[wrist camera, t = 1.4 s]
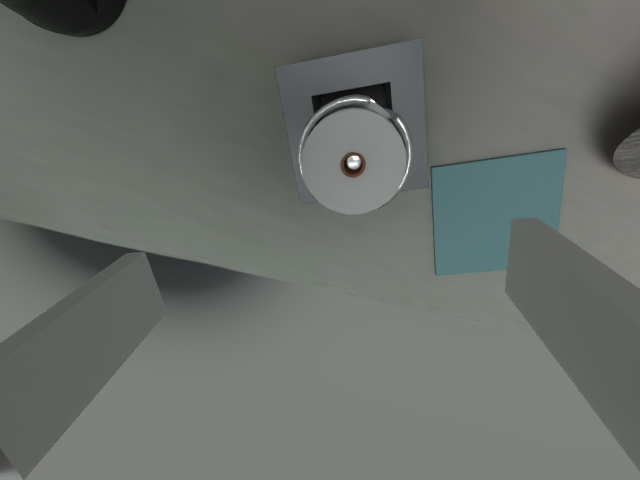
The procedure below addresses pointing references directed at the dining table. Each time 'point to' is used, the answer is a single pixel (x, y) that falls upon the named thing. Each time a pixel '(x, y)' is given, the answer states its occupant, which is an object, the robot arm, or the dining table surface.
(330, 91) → the grey hollow square block
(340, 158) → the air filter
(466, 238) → the teal mat
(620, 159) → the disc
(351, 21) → the dining table surface
